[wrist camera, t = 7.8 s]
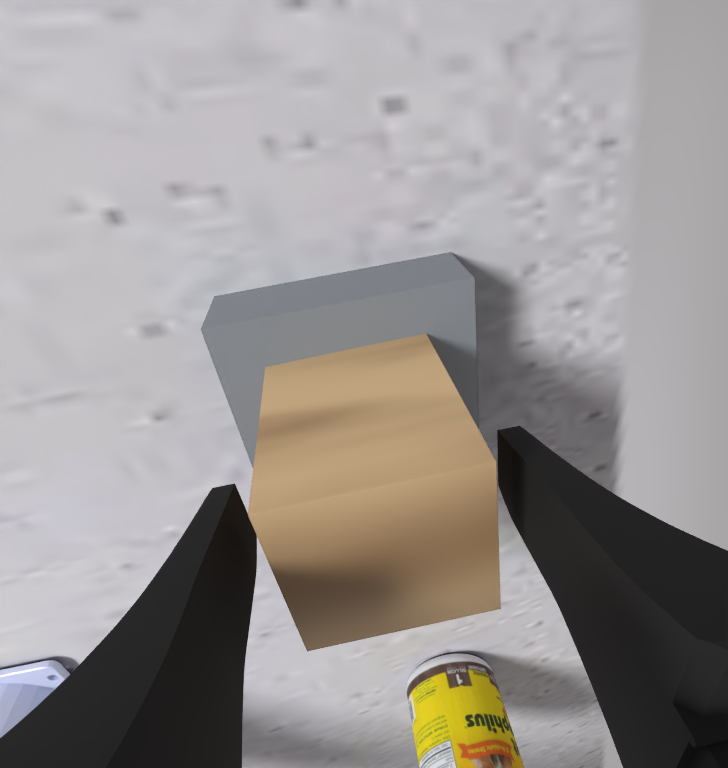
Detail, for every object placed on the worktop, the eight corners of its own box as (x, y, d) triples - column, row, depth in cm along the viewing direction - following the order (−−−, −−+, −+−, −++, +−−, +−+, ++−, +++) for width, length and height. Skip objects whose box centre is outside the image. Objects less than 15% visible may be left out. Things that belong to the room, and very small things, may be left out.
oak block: (439, 456, 17) (500, 608, 12) (304, 485, 17) (307, 651, 12) (425, 333, 14) (495, 461, 9) (265, 367, 14) (247, 514, 9)
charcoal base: (457, 430, 20) (480, 478, 18) (275, 465, 20) (272, 518, 18) (447, 248, 16) (474, 277, 14) (216, 291, 16) (201, 329, 14)
